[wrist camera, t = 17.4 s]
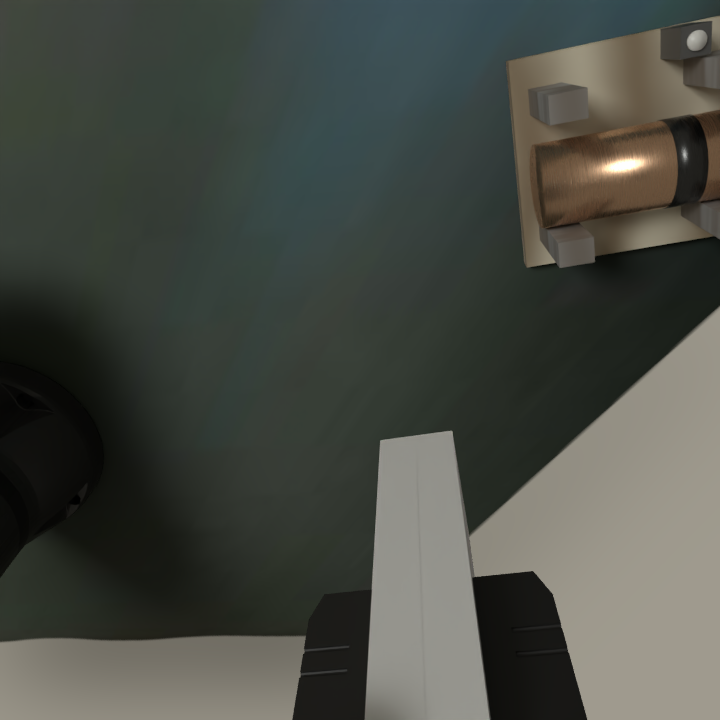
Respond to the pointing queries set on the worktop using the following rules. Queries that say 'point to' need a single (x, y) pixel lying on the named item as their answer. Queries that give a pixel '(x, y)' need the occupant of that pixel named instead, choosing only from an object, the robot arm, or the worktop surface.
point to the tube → (627, 170)
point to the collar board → (602, 113)
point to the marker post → (686, 40)
